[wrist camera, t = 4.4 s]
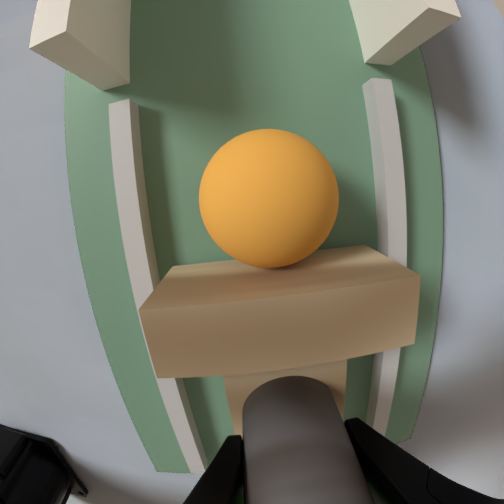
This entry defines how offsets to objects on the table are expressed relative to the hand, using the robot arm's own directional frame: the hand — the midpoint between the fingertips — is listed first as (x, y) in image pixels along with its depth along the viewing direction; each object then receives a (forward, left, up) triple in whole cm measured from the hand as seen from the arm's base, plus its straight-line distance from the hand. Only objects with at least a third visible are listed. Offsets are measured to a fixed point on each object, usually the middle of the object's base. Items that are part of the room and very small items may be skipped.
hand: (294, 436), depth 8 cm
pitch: (+8, 0, -4) cm, 9 cm away
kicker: (+1, 0, -4) cm, 4 cm away
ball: (+7, 0, -2) cm, 7 cm away
